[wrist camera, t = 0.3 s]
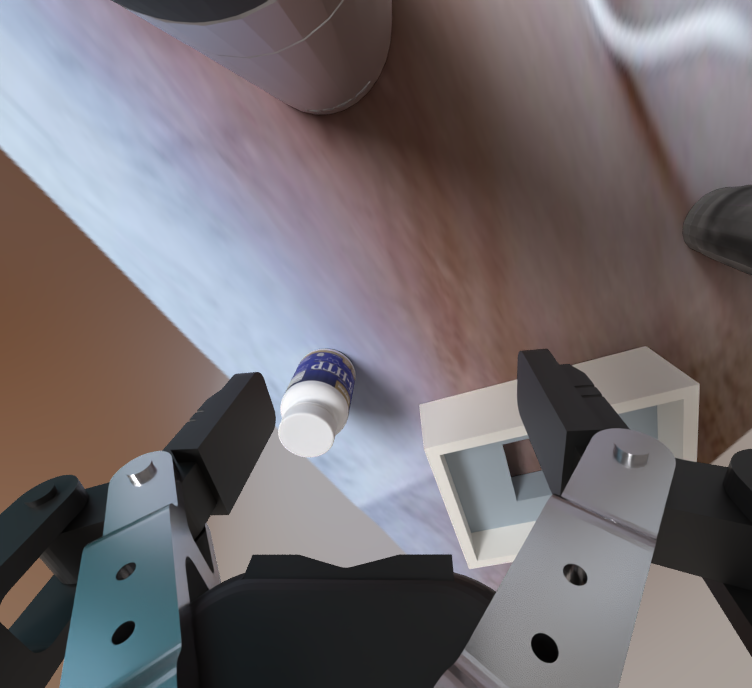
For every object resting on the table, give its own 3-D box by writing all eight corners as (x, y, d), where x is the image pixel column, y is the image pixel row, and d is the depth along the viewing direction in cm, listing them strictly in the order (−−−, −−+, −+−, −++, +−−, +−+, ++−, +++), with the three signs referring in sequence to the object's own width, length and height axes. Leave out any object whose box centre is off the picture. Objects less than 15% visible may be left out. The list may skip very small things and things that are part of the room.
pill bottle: (366, 366, 33) (358, 430, 25) (336, 405, 35) (320, 476, 27) (316, 335, 32) (290, 392, 24) (288, 377, 34) (256, 442, 26)
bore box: (419, 404, 34) (424, 448, 29) (646, 345, 31) (699, 383, 25) (459, 516, 41) (469, 569, 35) (650, 478, 37) (694, 531, 32)
